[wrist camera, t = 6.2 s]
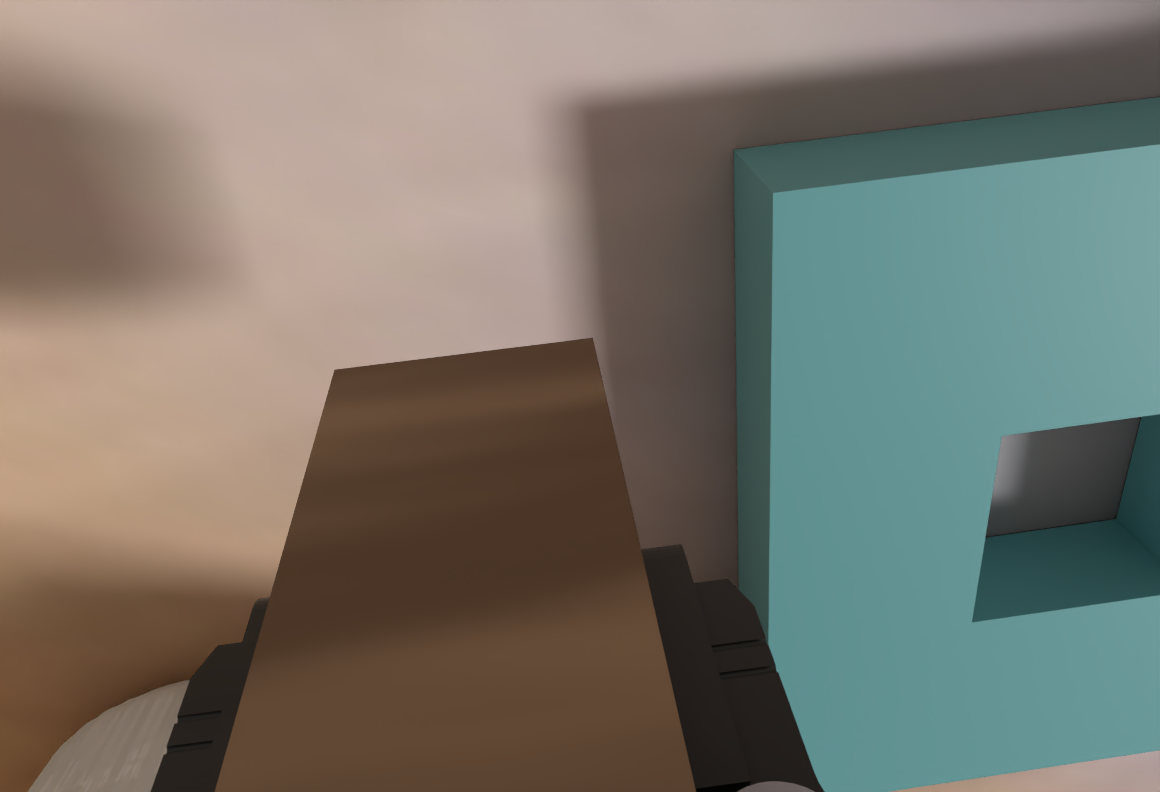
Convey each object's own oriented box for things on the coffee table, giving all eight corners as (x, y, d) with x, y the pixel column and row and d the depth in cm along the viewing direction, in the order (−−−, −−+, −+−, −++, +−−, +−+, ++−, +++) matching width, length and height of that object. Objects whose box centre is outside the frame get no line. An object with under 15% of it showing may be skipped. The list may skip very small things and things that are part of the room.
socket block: (733, 149, 20) (773, 193, 17) (1450, 60, 20) (1593, 89, 18) (740, 724, 29) (766, 810, 26) (1236, 651, 29) (1310, 727, 27)
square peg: (334, 369, 14) (-50, 1715, 4) (592, 337, 14) (873, 1563, 4) (385, 567, 16) (220, 1798, 6) (611, 538, 16) (830, 1693, 6)
